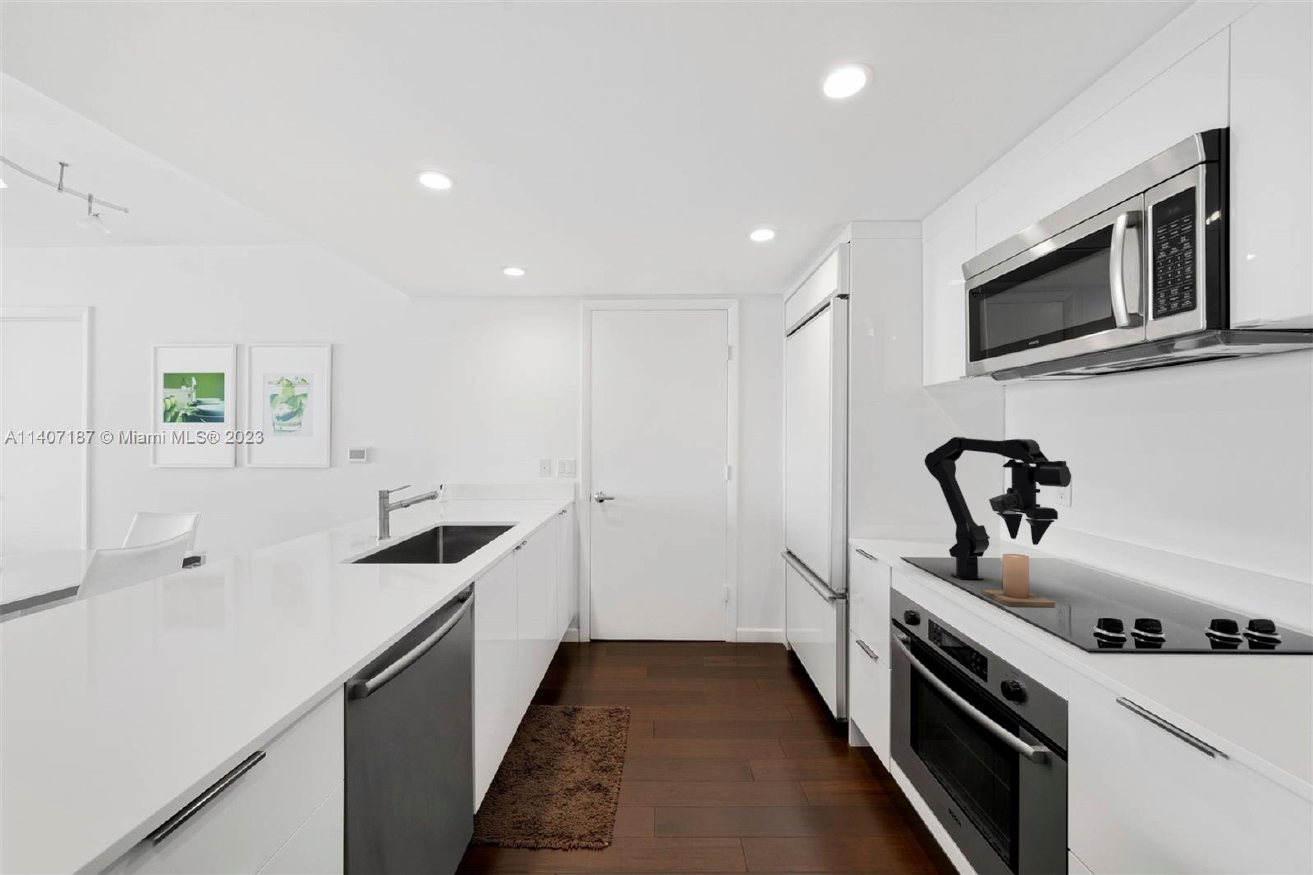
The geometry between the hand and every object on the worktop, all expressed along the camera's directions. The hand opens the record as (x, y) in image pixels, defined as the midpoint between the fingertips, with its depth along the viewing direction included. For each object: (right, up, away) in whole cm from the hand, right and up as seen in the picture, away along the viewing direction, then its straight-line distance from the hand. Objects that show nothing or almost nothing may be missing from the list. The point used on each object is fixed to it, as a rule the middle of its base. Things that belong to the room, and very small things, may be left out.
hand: (1024, 541), depth 152 cm
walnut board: (-9, -13, -11) cm, 19 cm away
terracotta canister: (-9, -12, -11) cm, 18 cm away
